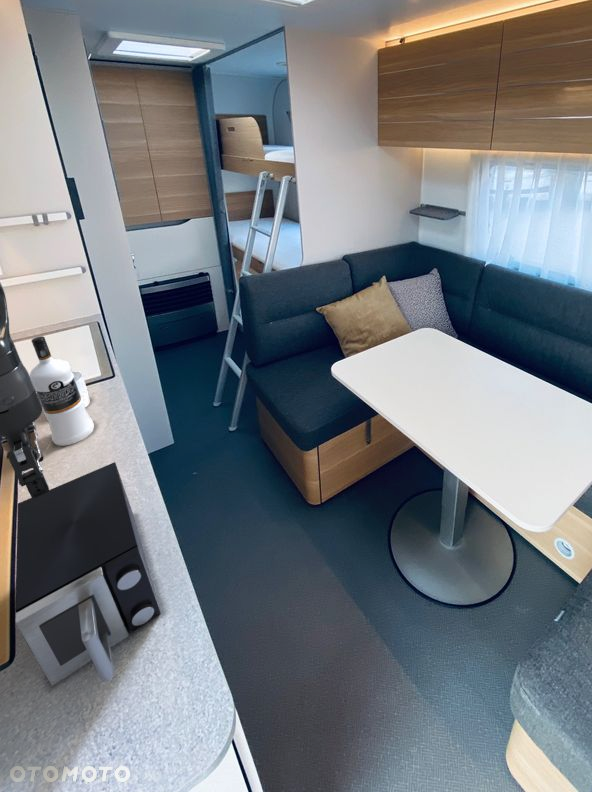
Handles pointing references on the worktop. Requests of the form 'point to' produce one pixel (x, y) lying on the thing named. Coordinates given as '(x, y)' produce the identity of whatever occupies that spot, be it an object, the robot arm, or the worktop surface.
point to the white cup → (81, 387)
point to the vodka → (59, 397)
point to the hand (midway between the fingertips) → (38, 477)
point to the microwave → (84, 544)
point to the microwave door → (74, 627)
